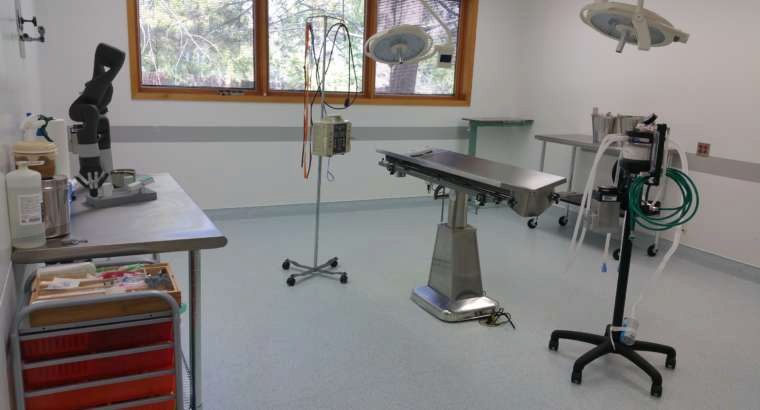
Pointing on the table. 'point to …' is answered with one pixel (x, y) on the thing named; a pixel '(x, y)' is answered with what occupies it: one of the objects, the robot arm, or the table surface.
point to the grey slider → (128, 181)
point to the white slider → (106, 190)
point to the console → (122, 197)
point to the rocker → (141, 183)
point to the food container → (121, 177)
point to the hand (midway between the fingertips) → (94, 197)
